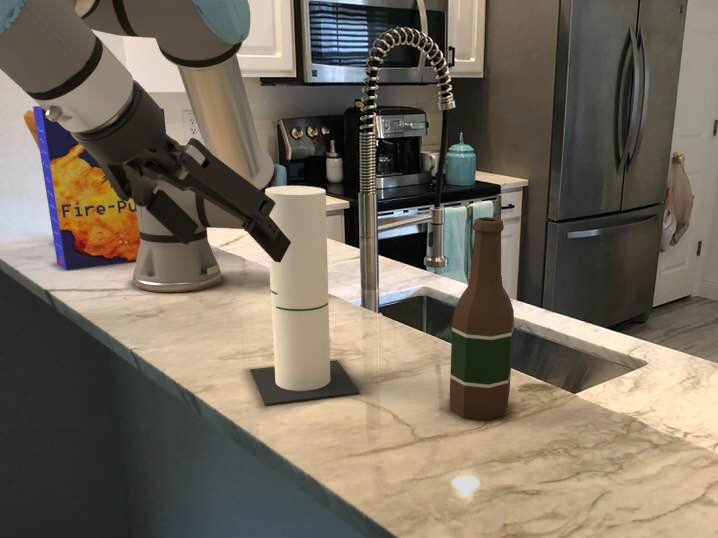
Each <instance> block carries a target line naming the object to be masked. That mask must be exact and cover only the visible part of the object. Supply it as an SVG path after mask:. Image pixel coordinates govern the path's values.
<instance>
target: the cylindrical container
mask: <svg viewBox="0 0 718 538" xmlns="http://www.w3.org/2000/svg"><path fill="white" fill-rule="evenodd" d="M265 194H266V195H267V196H268V197H270V198H271V199H272V200H274V201H275V203H276V204H275V206H274V208H273V209H272V211H271V213H270V215H269V216H270V218H271V219H272V220H273V221H274V222H275V223H276V225H277V226H278V227H279V229H280V230H281V231H282V232H283V233H284V234H285V235H286V237H287V238H288V239H289V240H290V241H291V244H290V245H289V247H288V249H287V251H286V253H285V255H284V257H283V258H282V260H281V262H280V263H279V262H275V261H274V260H273V259H272V258H271V257H270V256H269V255H268V268H269V287H270V303H271V305H270V307H271V324H272V325H271V326H272V342H273V344H272V345H273V361H274V362H273V363H274V367H275V382H276V384H277V385H278V386H279V387H281V388H284V389H287V390H293V391H307V390H314V389H318V388H321V387H324V386H326V385H327V384H328V383H329V382H330V361H331V351H330V350H331V349H330V348H331V346H330V345H331V344H330V309H329V308H330V306H329V305H330V304H329V303H330V302H329V269H328V267H329V266H328V265H329V264H328V232H327V231H328V229H327V193H326V189H324V188H321V187H316V186H310V185H309V186H308V185H307V186H306V185H286V186H277V187H271V188H267V189H265Z"/></svg>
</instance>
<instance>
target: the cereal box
mask: <svg viewBox="0 0 718 538" xmlns="http://www.w3.org/2000/svg"><path fill="white" fill-rule="evenodd" d="M160 108H161V110H162V113H163V124H164V131H165V133H166V134H167V128H166V116H165V109H164V108H162V107H160ZM32 111H34V117H35V123H36V130H37V136H38V143H39V148H38V150H39V149H40V150H39V155H40V160H41V161H40V162H41V168H42V174H43V175H42V176H43V181H44V186H45V195H46V200H47V205H48V212H49V218H50V219H49V220H50V226H52V227H51V231H52V237H53V244H54V249H55V250H54V252H55V258H56V264H57V265H59V266H60V267H61V268H63V269H65V271H69V270H70V271H71V270H78V269H87V268H94V267H103V266H112V265H119V264H127V263H136V259H137V255H138V251H139V247H140V234H139V226H138V218H137V209H136V204H135V203H134V202H133V199H129V201H128V202H127V201H123V200H121V199H120V198H119V197H118V196H117V194H116V192H115V191H114V189H113V188H112V186H111V184H110V183H109V181H108V179H107V178H106V176H105V174H104V173H103V171H102V169H101V168H100V166H99V164H98V163H97V161H96V160H95V159H94V158H93V157H92V156H91V155H90V154H89V153H88V152H87V151H86V150H85V148H84V147H83V146H82V145H81V144H80V143H79V142H77V141H76V140H75V139H74V138H73V137H72V135H71V133H70V131H68V130H66V129H64V128H63V127H62V126H61V125H60V124H59V123H58V122H57V121H50V120H49V119H47V118H46V116H45V113H46V111H45V110H44V109H43V108H42V107H41V106H40V105H35V106H32Z"/></svg>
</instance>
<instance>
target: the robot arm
mask: <svg viewBox="0 0 718 538" xmlns="http://www.w3.org/2000/svg"><path fill="white" fill-rule="evenodd" d="M250 30H251V7H250V2H249V1H248V0H0V70H1V71H2V72H3V73H4V74H5V75H6V76H7V77H8V78H9V79H11V80H12V81H13V82H14V83H15V84H16V85H17V86H18V87H19V88H21V89H22V91H23V92H25V94H27V95H28V96H29V97H30V98H31V99H33V101H35V102H36V103H37V104H38V106H41V107H42V108H43V109H44V110H45V111H46V113H45V116H46V118H47V119H49V120H50V121H57V122H58V123H59V124H60V125H61V126H62V127H63V128H64V129H66V130H68V131H70V133H71V135H72V137H73V138H74V139H75V140H76V141H77V142H79V143H80V144H81V145H82V146H83V147H84V148H85V150H86V151H87V152H88V153H89V154H90V155H91V156H92V157H93V158H94V159H95V160H96V161H97V163H98V164H99V166H100V168H101V169H102V171H103V173H104V174H105V176H106V178H107V179H108V181H109V183H110V184H111V186H112V188H113V189H114V191H115V192H116V194H117V196H118V197H119V198H120V199H121V200H123V201H127V202H128V201H129V199H133V202H134V203H135V204H136V209H137V218H138V226H139V234H140V247H139V251H138V255H137V259H136V262H135V265H134V269H133V276H132V277H133V284H134V286H135V287H137V288H139V289H141V290H144V291H151V292H159V293H180V292H181V293H182V292H183V293H184V292H193V291H198V290H205V289H208V288H211V287H214V286H216V285H217V284H219V283H220V282H222V275H221V274H222V273H221V269H220V265H219V264H218V261H217V258H216V256H215V254H214V251H213V249H212V247H211V244H210V242H209V237H208V228H210V229H229V230H230V229H232V230H233V229H234V230H243V231H245V232H247V234H248V235H249V236H250V237H251V238H252V239H253V240H254V241H255V242H256V243H257V244H258V245H259V246H260V248H261V249H262V250H263V251H264V252H265V253H266V254H267V255H268V257H269V256H270V257H271V258H272V259H273V260H274V261H275V262H279V263H280V262H281V260H282V258H283V257H284V255H285V253H286V251H287V249H288V247H289V245H290V244H291V241H290V240H289V239H288V238H287V237H286V235H285V234H284V233H283V232H282V231H281V230H280V229H279V227H278V226H277V225H276V223H275V222H274V221H273V220H272V219H271V218H270V216H269V215H270V213H271V211H272V209H273V208H274V206H275V204H276V203H275V201H274V200H272V199H271V198H270V197H268V196H267V195H266V194H265V189H267V188H271V187H277V186H287V183H288V181H287V179H288V178H287V168H286V167H285V166H284V165H280V164H278V163H274V161H273V158H272V156H271V155H270V154H269V153H268V152H267V151H266V150H265V149H264V148H262V147H260V142H259V137H258V134H257V130H256V126H255V121H254V117H253V115H252V110H251V107H250V102H249V99H248V95H247V90H246V86H245V83H244V78H243V75H242V69H241V67H240V63H239V59H238V54H239V52H240V51H241V48H242V46H243V42H244V41H246V40H247V38H248V37H249V34H250ZM94 31H96V32H100V33H104V34H109V35H114V36H121V37H132V38H144V39H145V38H147V39H155V41H156V44H157V47H158V49H159V52H160V53H161V55H162V56H163V58H165V60H167V61H168V62H169V63H170V64H172V65H174V66H176V67H177V70H178V74H179V76H180V79H181V81H182V85H183V87H184V91H185V93H186V97H187V99H188V102H189V105H190V108H191V111H192V114H193V116H194V119H195V122H196V125H197V128H198V130H199V131H198V132H199V134H200V136H201V139H202V142H201V141H200V140H198V139H197V138H195V137H190V138H189V140H188V141H187V144H180V143H179V142H178V141H177V140H176V139H174V138H172V137H171V136H169V135H168V134H167V132H166V133H165V131H164V124H163V113H162V110H161V108H162V107H160V105H159V104H158V103H157V102H156V101H155V99H153V98H152V96H151V95H150V93H148V92H147V91H146V89H145V88H144V87H143V86H142V85H141V84H140V83H139V82H138V81H137V80H135V79H134V78H133V74H131V72H130V71H129V70H128V69H127V68H126V67H125V66H124V65H123V63H122V62H121V61H120V60H119V59H118V57H116V56H115V55H114V53H113V52H112V51H111V50H110V48H108V46H107V45H106V44H105V43H104V42H103V40H102V39H100V37H99V36H97V35H96V34H95V32H94Z"/></svg>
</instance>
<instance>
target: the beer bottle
mask: <svg viewBox="0 0 718 538" xmlns="http://www.w3.org/2000/svg"><path fill="white" fill-rule="evenodd" d="M471 227H472V230H473V231H474V236H473V245H472V255H471V263H470V264H471V266H470V274H469V278H468V279H469V280H468V283H467V287H466V288H465V290H464V291H463V293H461V295H460V297H459V299H458V301H457V304H456V306H455V308H454V311H453V313H452V314H453V315H452V323H451V343H450V344H451V346H450V371H449V372H450V374H449V375H450V377H449V409H450V410H451V412H454V413H455V414H457V415H458V416H459V417H461V418H463V419H467V420H475V421H476V420H477V421H486V422H487V421H490V420H493V419H494V420H495V419H497V418H501V417H504V416H505V415H506V413H507V409H508V406H509V399H510V392H511V391H510V390H511V389H510V388H511V374H512V359H513V345H514V331H515V316H514V315H515V310H514V307H513V303H512V300H511V298H510V296H509V294H508V293H507V291H506V289H505V288H504V285H503V277H502V232H503V231H504V229H505V225H504V222H503V220H502V219H500V218H498V217H492V216H491V217H489V216H481V217H477V218H475V219H474V221H473V224H472V226H471Z"/></svg>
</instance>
